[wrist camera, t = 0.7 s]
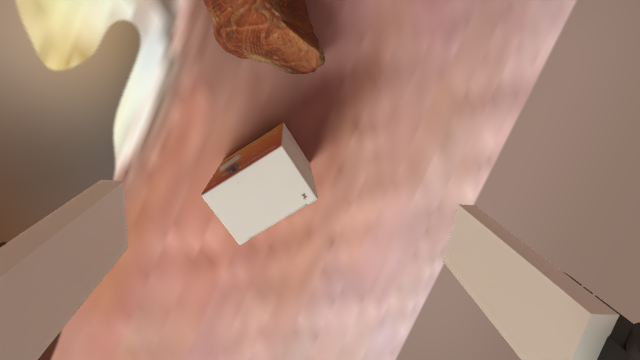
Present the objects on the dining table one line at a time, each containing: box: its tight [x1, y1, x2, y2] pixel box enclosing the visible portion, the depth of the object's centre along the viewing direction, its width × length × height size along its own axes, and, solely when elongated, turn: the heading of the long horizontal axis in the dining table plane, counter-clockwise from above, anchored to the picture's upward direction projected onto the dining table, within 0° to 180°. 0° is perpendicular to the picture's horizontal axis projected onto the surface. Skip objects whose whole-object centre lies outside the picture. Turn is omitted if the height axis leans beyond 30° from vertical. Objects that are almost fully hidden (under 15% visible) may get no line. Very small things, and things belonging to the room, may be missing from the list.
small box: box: [201, 123, 318, 245], centre depth 33 cm, size 8×6×10 cm
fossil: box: [204, 0, 325, 74], centre depth 30 cm, size 13×8×10 cm
